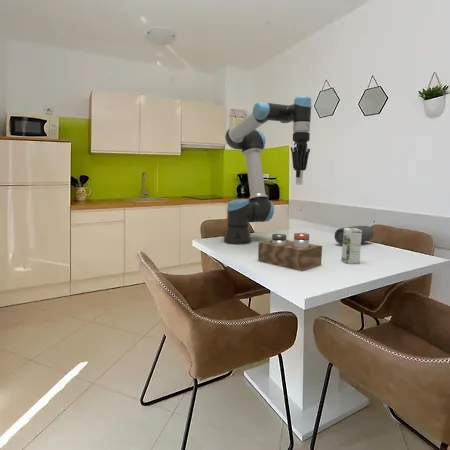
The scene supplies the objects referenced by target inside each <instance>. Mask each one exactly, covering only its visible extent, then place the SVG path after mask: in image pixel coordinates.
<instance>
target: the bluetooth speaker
mask: <svg viewBox="0 0 450 450" xmlns="http://www.w3.org/2000/svg"><path fill="white" fill-rule="evenodd" d="M344 228H356V229H359V230H362V237H361V243H363V242H368V241H370V240H372V239H373V237H374V230H373V228H371V226H369V225H356V226H355V225H353V226H346V227H342V228H337V229H336V231H335V232H334V236H333V237H334V240H335V241H336V243H337V244H340V245H343V235H344Z"/></svg>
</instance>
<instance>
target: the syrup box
mask: <svg viewBox="0 0 450 450" xmlns="http://www.w3.org/2000/svg"><path fill="white" fill-rule="evenodd" d="M343 228H344V235H343V244H342V249H341V251H342V252H341V262H343V263H345V264H348V265H349V264H360V260H361V259H360V258H361V249H362V248H361V247H362V242H361V237H362V230H359V229H356V228H345V227H343Z"/></svg>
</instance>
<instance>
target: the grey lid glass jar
mask: <svg viewBox="0 0 450 450" xmlns="http://www.w3.org/2000/svg"><path fill="white" fill-rule="evenodd" d="M271 240H272V243H276V244H285V243H286V240H287V234H285V233H284V234H283V233H273V234H272V235H271Z"/></svg>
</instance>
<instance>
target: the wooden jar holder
mask: <svg viewBox="0 0 450 450" xmlns="http://www.w3.org/2000/svg"><path fill="white" fill-rule="evenodd" d="M257 251H258V252H257V260H258V261H259V262H262V263H265V264H270V265H275V266H280V267H284V268H288V269H293V270H297V271H300V272H304V271H307V270H310V269H313V268H316V267H320V266H321V265H322V254H323V246H322V245H319V244H318V245H317V244H313V243H309V247H308V248H298V247H294V240H289V239H286V243H285V244H276V243H272V239H269V240H266V241H265V240H264V241H260V242H258V250H257Z"/></svg>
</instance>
